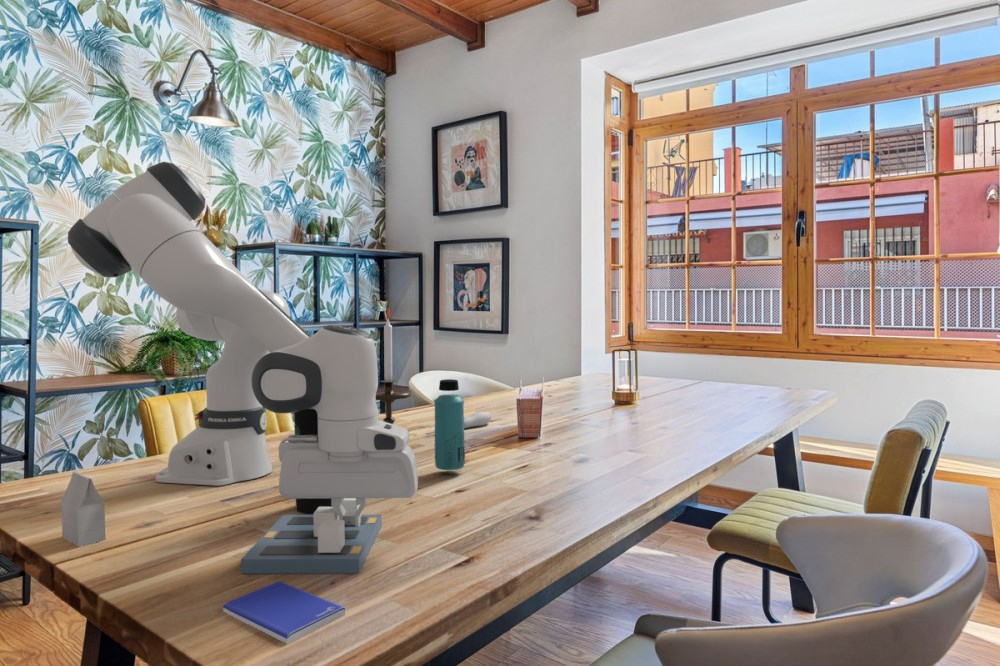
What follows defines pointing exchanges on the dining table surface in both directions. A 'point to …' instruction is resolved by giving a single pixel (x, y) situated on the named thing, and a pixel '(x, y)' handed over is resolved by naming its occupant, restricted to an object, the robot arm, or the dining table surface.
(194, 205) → the robot arm
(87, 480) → the grey gabled box
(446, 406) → the beverage bottle
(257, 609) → the hard drive
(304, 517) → the switch board
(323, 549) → the tab
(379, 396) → the candlestick
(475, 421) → the screwdriver
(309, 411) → the wine bottle
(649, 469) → the dining table surface
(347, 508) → the tab
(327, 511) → the tab
